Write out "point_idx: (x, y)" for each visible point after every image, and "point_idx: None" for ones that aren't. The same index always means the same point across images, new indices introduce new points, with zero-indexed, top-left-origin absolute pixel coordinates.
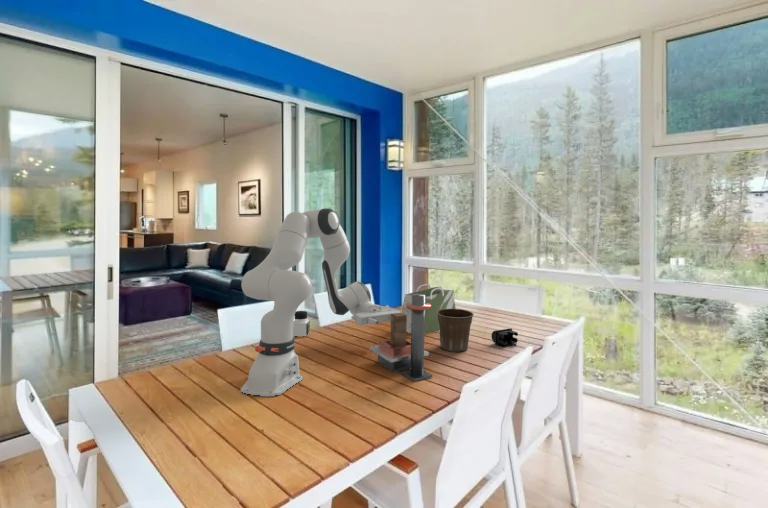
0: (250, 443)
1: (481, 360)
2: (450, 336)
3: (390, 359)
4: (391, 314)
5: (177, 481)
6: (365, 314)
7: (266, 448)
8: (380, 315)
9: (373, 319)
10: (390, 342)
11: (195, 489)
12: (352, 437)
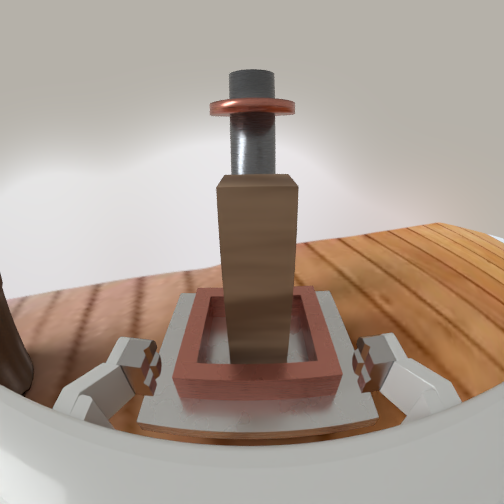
0: (485, 253)
1: (60, 307)
2: (13, 329)
3: (330, 293)
4: (296, 187)
5: (499, 242)
6: (497, 475)
7: (471, 246)
8: (274, 445)
9: (403, 359)
10: (288, 343)
11: (485, 236)
12: (406, 238)
